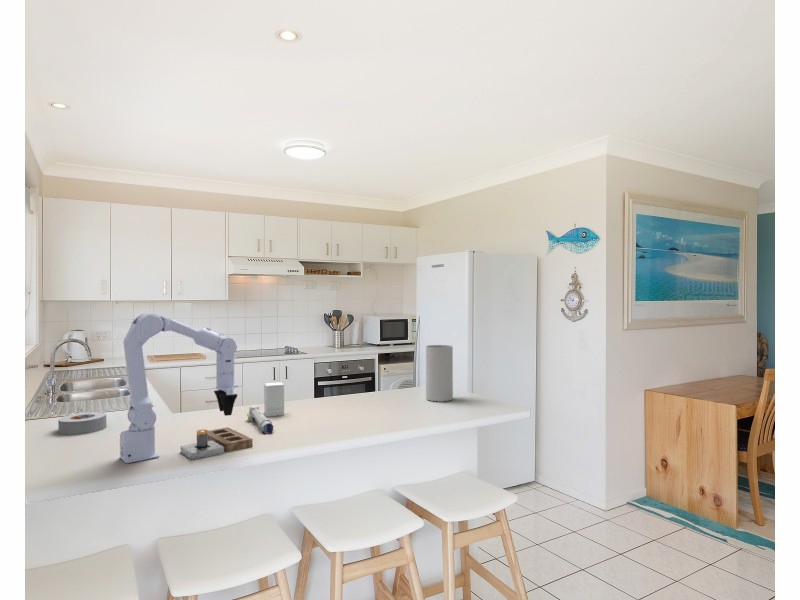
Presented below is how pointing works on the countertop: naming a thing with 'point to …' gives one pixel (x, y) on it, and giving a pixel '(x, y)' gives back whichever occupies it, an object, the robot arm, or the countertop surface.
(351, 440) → the countertop surface
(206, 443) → the steel peg
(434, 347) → the cylinder vase
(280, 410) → the supplement box
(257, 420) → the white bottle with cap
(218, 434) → the rack
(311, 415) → the countertop surface
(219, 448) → the socket block
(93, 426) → the tape roll
